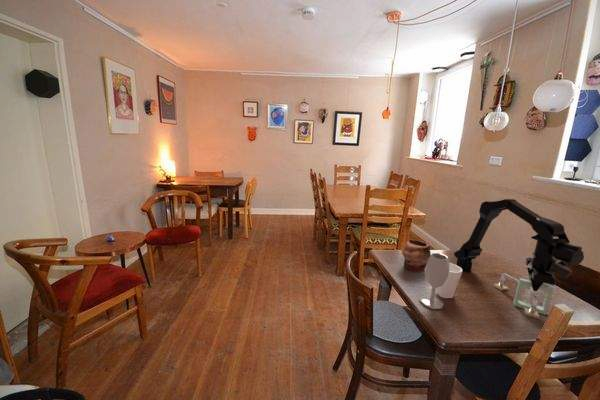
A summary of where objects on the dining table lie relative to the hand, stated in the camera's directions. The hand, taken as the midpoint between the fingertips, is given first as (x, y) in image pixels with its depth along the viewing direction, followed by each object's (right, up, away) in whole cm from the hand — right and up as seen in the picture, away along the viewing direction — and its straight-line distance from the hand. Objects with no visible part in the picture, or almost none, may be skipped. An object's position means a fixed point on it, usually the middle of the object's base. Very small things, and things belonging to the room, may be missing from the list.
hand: (534, 289), depth 106 cm
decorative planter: (-33, 0, +33) cm, 47 cm away
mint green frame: (0, -8, +2) cm, 8 cm away
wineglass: (-40, -7, +2) cm, 41 cm away
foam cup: (-31, -5, +9) cm, 33 cm away
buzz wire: (-2, -7, +8) cm, 11 cm away
